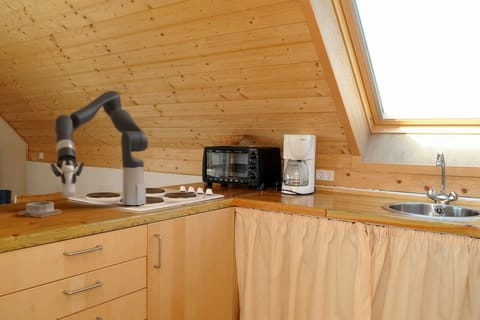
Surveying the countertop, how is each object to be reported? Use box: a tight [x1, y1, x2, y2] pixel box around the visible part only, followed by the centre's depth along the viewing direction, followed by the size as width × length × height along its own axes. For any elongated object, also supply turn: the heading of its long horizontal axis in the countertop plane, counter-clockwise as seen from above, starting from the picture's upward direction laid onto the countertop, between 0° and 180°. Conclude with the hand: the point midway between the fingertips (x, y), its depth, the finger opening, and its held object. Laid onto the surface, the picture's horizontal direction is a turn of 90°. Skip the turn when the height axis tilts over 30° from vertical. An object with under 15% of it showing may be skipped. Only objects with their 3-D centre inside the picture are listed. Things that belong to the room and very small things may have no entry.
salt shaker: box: [60, 166, 77, 198], centre depth 168 cm, size 6×6×13 cm
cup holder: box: [17, 200, 62, 218], centre depth 159 cm, size 12×10×4 cm
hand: (69, 182), depth 166 cm, fingers closed on salt shaker, 3 cm apart
